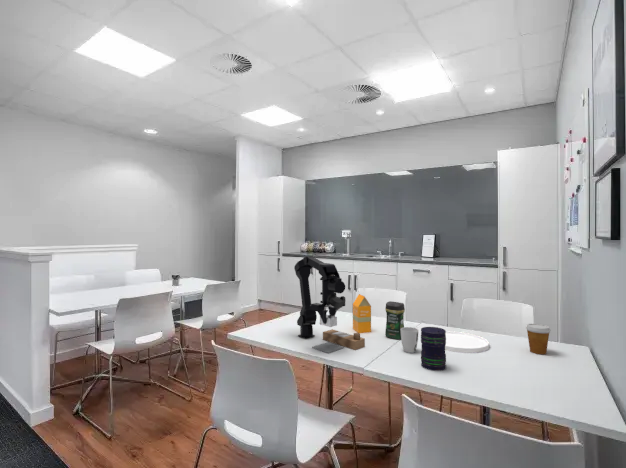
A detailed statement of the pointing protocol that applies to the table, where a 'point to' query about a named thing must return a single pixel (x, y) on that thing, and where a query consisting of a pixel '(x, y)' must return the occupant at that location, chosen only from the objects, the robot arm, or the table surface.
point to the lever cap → (329, 321)
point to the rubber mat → (328, 347)
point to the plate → (465, 342)
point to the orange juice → (361, 315)
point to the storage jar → (433, 348)
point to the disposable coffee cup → (538, 338)
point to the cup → (409, 339)
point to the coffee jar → (394, 319)
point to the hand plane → (344, 339)
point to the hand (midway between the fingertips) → (328, 322)
